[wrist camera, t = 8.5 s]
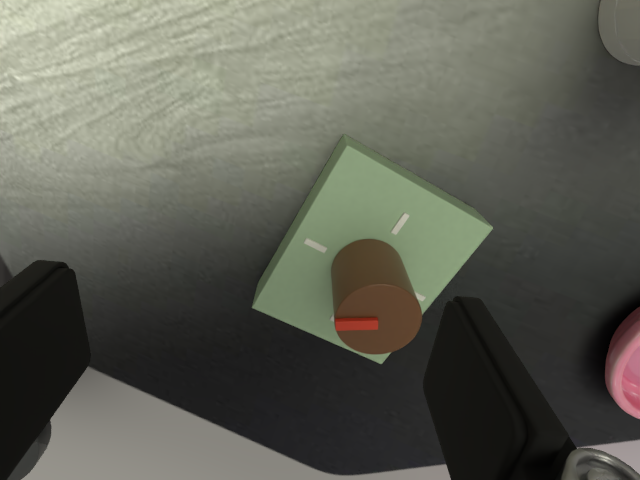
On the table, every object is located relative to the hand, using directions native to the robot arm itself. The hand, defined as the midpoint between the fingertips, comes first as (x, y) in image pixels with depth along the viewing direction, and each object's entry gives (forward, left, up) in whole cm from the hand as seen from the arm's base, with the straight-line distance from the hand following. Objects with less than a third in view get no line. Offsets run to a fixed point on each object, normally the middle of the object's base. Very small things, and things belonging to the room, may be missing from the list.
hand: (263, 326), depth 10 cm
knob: (-3, -7, -13) cm, 15 cm away
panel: (-3, -7, -16) cm, 17 cm away
